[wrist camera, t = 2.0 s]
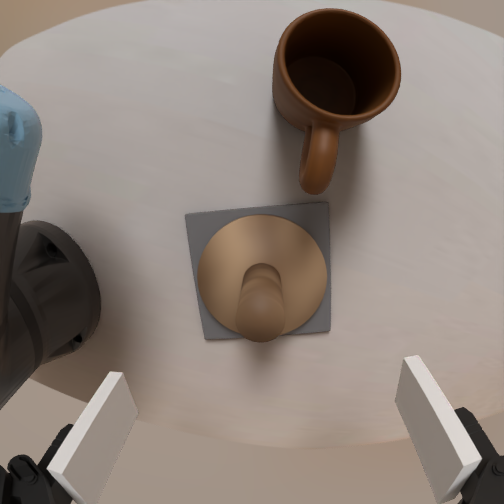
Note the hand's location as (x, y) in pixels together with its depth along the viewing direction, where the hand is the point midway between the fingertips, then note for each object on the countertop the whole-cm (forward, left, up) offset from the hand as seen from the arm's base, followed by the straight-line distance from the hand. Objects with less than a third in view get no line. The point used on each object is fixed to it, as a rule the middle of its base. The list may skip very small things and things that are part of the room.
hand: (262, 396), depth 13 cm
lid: (0, 0, -15) cm, 15 cm away
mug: (+5, +13, -16) cm, 21 cm away
